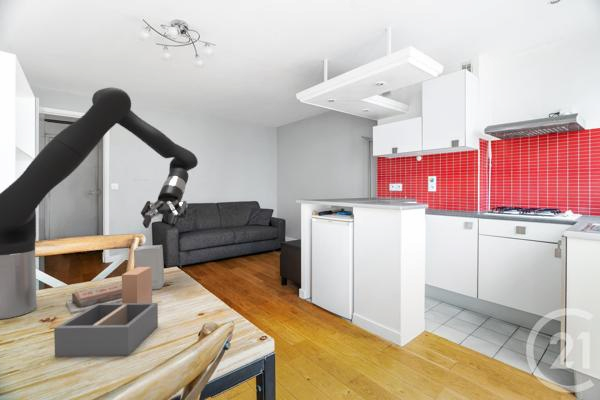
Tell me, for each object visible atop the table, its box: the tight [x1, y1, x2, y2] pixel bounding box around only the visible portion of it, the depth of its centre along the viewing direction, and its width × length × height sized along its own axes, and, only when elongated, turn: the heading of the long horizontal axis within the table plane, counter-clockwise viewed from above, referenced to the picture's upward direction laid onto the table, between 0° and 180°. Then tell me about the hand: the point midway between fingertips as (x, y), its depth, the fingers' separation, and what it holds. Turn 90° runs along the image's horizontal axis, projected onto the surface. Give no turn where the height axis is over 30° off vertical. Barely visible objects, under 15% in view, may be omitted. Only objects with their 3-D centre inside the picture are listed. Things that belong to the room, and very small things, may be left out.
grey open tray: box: [53, 302, 159, 358], centre depth 65 cm, size 15×13×6 cm
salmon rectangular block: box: [121, 267, 153, 303], centre depth 80 cm, size 4×8×12 cm, turn 2°
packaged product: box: [65, 282, 122, 315], centre depth 89 cm, size 18×5×10 cm
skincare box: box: [133, 244, 166, 290], centre depth 101 cm, size 8×6×15 cm
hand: (158, 226), depth 93 cm, fingers open, 8 cm apart
